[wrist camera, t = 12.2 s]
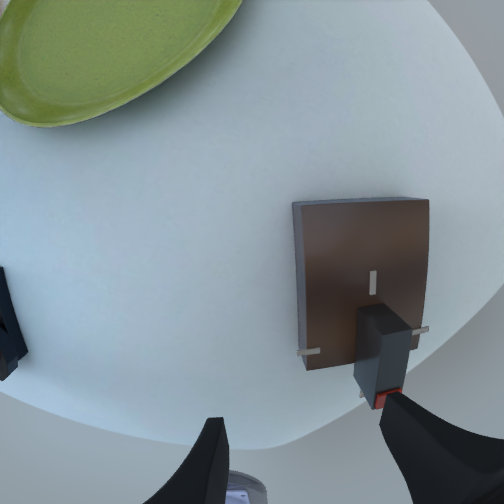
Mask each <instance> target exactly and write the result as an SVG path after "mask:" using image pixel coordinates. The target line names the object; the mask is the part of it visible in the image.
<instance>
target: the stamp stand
mask: <svg viewBox="0 0 504 504" xmlns="http://www.w3.org/2000/svg"><path fill="white" fill-rule="evenodd" d="M292 210H293V225H294V241H295V259H296V280H297V304H298V337H299V349H300V350H297V356H302V358H303V361H304V364H305V367H306V370H307V371H308V370H315V369H322V368H328V367H334V366H340V365H345V364H351V363H355V351H356V335H357V312H358V308H359V307H365V306H371V305H377V304H383V303H385V304H386V305H387V306H388V307H389V308H390V309H391V310H393V311H394V312H395V313H396V314H397V315H398V316H399V317H400V318H401V319H403V320H404V321H405V322H406V323H407V324H408V325H409V326H410V327H411V328H413V332H412V339H411V345H410V350H414V349H417V348H418V342H419V337H420V333H424V332H428V331H429V326H426V327H422V328H421V324H422V317H423V309H424V301H425V292H426V281H427V269H428V252H429V200H428V199H420V198H411V197H381V198H357V199H337V200H319V201H304V202H292ZM362 397H365V396H364V394H363V392H362V390H360V398H362Z"/></svg>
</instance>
